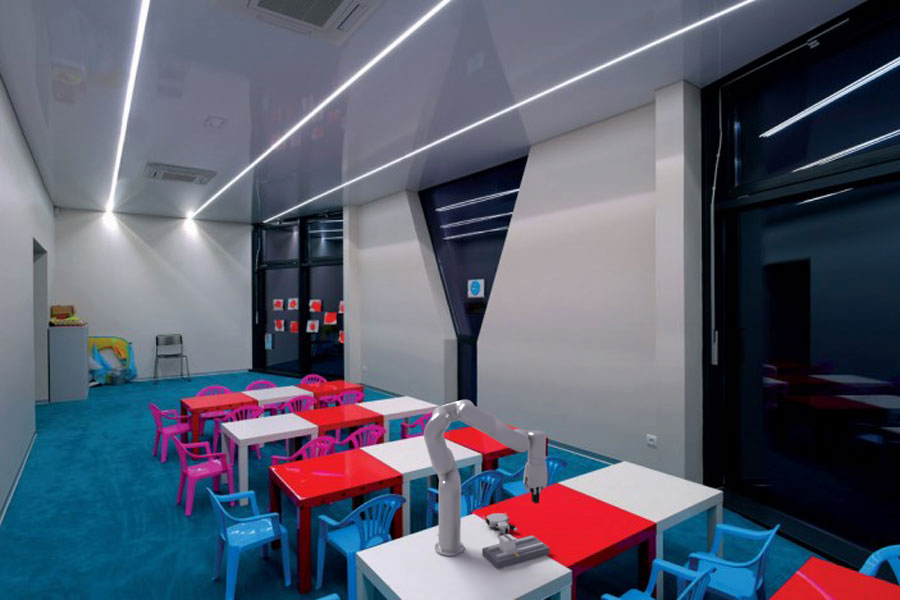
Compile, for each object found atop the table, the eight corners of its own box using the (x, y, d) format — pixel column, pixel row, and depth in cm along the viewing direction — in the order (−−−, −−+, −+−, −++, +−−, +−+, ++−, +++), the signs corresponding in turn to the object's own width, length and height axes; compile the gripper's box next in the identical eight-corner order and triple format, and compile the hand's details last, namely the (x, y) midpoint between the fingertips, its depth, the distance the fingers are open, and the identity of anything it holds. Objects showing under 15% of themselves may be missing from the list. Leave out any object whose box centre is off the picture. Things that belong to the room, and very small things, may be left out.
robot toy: (519, 535, 220) (504, 519, 234) (519, 526, 220) (505, 510, 234) (494, 540, 216) (481, 523, 230) (495, 530, 216) (482, 514, 230)
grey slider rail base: (482, 555, 201) (482, 545, 201) (532, 541, 213) (532, 532, 213) (497, 569, 190) (497, 559, 190) (549, 554, 202) (549, 545, 202)
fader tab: (499, 548, 200) (499, 535, 201) (509, 545, 203) (509, 532, 203) (505, 553, 196) (505, 540, 196) (515, 551, 198) (515, 537, 199)
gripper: (544, 455, 213) (543, 496, 213) (517, 459, 207) (516, 501, 206) (555, 460, 207) (554, 502, 206) (527, 464, 200) (526, 508, 200)
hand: (535, 502), depth 206 cm, fingers closed
